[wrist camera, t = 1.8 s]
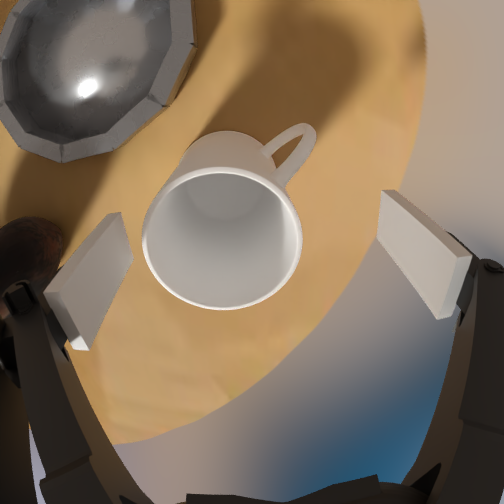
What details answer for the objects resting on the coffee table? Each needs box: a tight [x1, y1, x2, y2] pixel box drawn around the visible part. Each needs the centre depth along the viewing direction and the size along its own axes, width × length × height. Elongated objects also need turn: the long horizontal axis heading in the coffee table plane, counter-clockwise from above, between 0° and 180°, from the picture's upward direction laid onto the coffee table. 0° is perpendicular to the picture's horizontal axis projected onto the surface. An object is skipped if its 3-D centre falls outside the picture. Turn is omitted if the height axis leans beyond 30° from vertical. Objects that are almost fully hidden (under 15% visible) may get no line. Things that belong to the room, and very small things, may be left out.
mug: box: [142, 123, 317, 310], centre depth 19 cm, size 12×8×12 cm
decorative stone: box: [0, 217, 63, 319], centre depth 20 cm, size 18×9×15 cm, turn 127°
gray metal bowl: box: [0, 0, 198, 163], centre depth 17 cm, size 19×19×3 cm
